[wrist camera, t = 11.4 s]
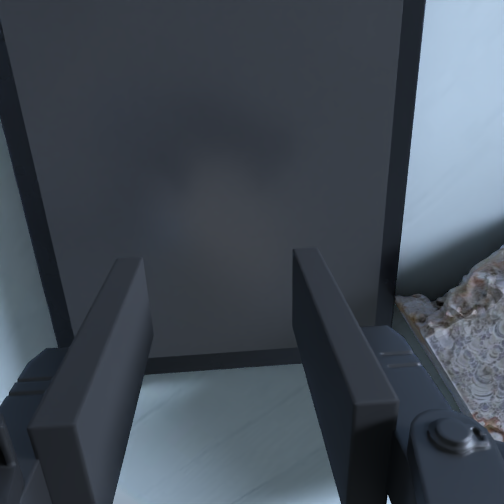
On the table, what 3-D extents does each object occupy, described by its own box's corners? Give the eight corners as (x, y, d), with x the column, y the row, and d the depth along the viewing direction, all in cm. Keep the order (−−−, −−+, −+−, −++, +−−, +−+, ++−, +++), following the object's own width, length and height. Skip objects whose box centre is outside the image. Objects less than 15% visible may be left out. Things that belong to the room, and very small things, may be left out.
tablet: (71, 369, 25) (65, 382, 24) (-63, -184, 15) (-82, -201, 14) (382, 347, 26) (389, 358, 25) (435, -189, 16) (449, -206, 15)
